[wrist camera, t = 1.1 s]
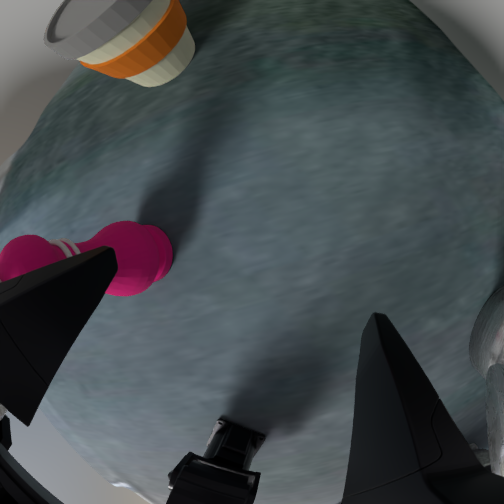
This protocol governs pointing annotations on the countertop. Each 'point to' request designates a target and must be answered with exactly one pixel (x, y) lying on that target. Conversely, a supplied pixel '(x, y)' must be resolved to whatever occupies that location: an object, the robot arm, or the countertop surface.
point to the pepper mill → (114, 235)
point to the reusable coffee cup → (124, 38)
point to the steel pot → (488, 334)
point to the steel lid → (495, 416)
